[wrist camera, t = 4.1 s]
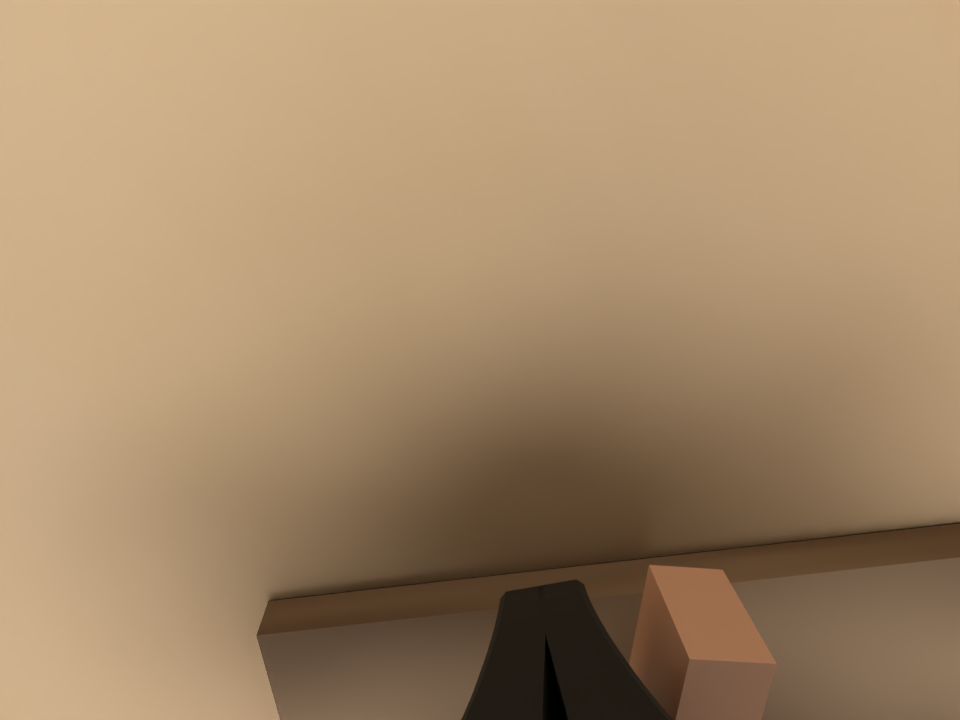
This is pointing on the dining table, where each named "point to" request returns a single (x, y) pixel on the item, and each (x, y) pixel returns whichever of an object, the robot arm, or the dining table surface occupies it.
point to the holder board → (617, 600)
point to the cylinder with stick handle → (700, 647)
